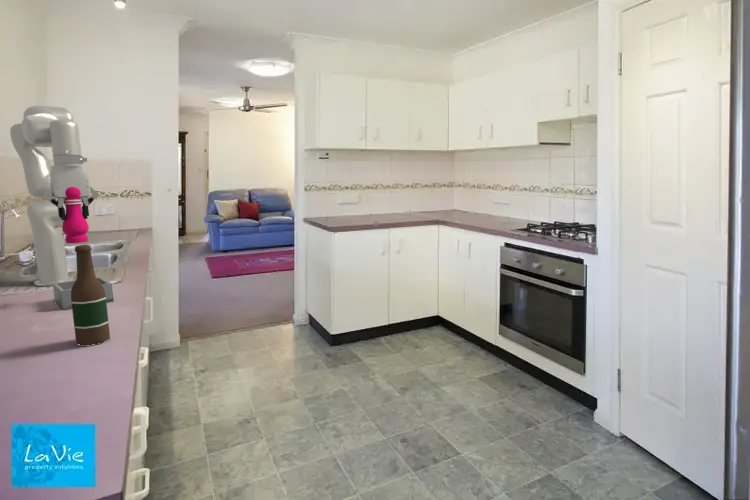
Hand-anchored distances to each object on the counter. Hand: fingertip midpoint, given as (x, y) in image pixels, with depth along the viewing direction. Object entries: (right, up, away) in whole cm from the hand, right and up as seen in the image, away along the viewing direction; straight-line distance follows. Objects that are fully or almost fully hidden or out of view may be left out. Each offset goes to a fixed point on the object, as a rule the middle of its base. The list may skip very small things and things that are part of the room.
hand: (74, 218), depth 151 cm
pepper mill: (0, -8, +1) cm, 8 cm away
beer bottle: (+26, -33, -33) cm, 53 cm away
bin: (0, -27, +4) cm, 27 cm away
